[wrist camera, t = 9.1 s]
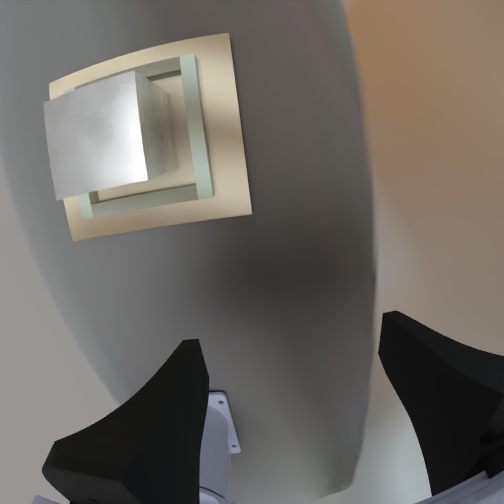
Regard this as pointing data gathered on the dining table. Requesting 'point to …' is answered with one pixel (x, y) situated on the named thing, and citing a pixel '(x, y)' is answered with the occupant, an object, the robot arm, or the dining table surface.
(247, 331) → the dining table surface
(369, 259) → the dining table surface
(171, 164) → the block
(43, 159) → the dining table surface
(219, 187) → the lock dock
